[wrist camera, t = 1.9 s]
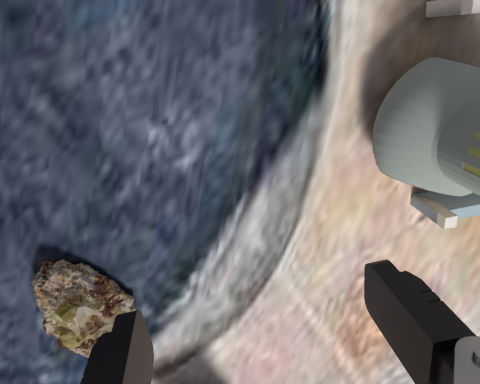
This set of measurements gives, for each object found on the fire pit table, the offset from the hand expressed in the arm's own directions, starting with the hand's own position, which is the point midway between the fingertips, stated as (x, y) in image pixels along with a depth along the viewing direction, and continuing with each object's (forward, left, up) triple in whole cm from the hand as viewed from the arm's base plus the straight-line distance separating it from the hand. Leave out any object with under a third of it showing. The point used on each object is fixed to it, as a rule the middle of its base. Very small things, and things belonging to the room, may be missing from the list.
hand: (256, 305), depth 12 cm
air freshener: (0, +16, -16) cm, 23 cm away
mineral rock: (+11, -14, -16) cm, 24 cm away
